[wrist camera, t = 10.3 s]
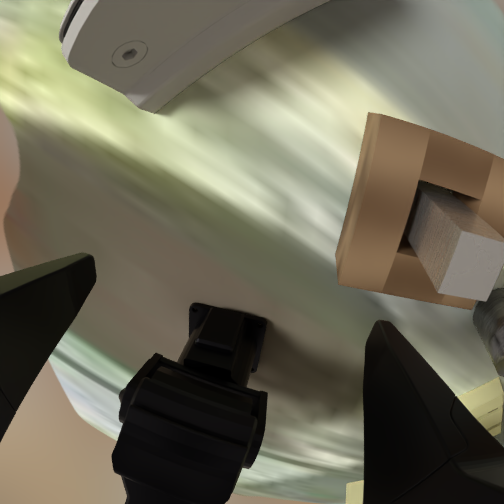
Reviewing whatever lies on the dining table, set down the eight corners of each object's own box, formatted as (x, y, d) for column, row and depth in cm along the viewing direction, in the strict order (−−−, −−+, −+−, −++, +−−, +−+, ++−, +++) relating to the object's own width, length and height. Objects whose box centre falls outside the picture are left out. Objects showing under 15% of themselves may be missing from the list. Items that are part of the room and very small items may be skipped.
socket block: (453, 279, 21) (471, 310, 17) (335, 254, 22) (338, 284, 18) (495, 156, 16) (525, 170, 13) (368, 112, 17) (381, 114, 14)
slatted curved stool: (347, 390, 28) (340, 564, 12) (496, 327, 22) (562, 491, 6) (406, 479, 37) (407, 570, 21) (495, 446, 30) (511, 536, 15)
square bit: (432, 228, 20) (486, 301, 12) (395, 219, 20) (437, 292, 12) (444, 188, 18) (511, 245, 10) (406, 177, 18) (462, 230, 11)
